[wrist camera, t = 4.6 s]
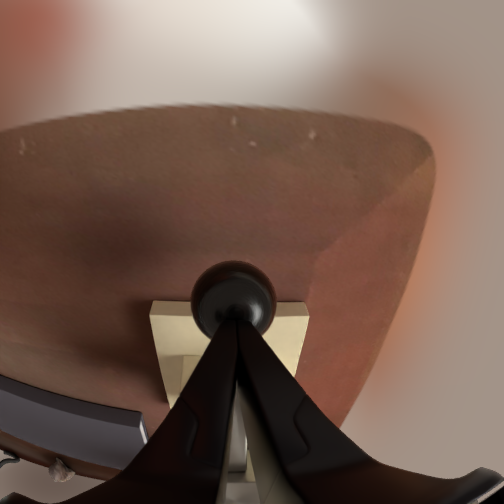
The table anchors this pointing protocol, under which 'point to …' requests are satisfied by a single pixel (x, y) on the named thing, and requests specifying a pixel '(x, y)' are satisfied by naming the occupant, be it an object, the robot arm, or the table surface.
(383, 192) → the table surface
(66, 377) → the table surface
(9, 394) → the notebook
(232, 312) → the lever
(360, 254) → the table surface
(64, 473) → the seashell
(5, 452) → the coil
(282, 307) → the bracket
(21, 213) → the table surface
